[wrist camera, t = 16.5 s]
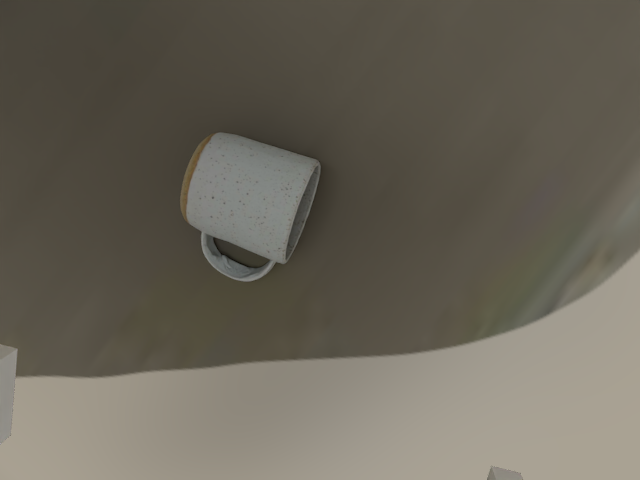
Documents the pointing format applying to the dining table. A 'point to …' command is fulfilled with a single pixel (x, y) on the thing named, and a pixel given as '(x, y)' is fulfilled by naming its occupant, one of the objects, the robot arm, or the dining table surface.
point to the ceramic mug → (248, 200)
